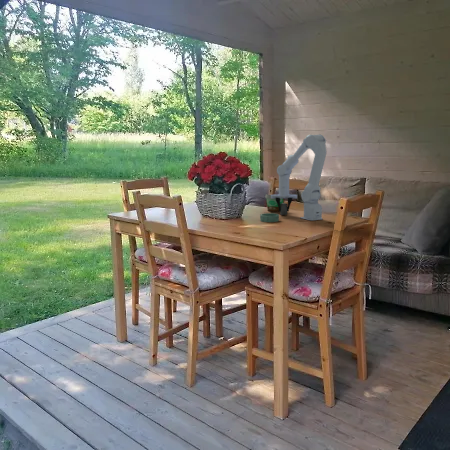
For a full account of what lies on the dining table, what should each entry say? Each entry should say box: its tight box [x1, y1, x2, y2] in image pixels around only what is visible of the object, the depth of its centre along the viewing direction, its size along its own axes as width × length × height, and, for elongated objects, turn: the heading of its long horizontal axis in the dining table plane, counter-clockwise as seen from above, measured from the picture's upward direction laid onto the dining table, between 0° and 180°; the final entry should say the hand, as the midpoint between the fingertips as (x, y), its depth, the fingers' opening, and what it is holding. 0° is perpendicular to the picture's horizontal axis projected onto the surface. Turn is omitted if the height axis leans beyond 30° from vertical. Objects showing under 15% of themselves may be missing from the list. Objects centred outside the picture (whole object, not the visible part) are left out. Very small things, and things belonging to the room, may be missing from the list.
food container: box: [264, 193, 286, 213], centre depth 272 cm, size 12×6×10 cm, turn 73°
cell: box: [279, 202, 288, 216], centre depth 260 cm, size 4×4×6 cm
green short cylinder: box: [259, 212, 280, 223], centre depth 245 cm, size 10×10×3 cm
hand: (283, 211), depth 260 cm, fingers closed on cell, 4 cm apart
